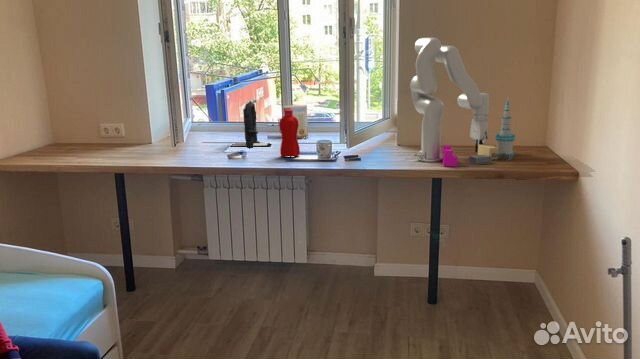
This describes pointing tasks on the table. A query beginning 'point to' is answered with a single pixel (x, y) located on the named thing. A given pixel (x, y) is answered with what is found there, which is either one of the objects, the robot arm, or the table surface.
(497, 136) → the model tower
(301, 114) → the cracker box
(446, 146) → the toy block
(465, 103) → the robot arm
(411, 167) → the table surface
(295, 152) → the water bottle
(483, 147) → the yellow rectangular block
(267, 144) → the black upright stand
